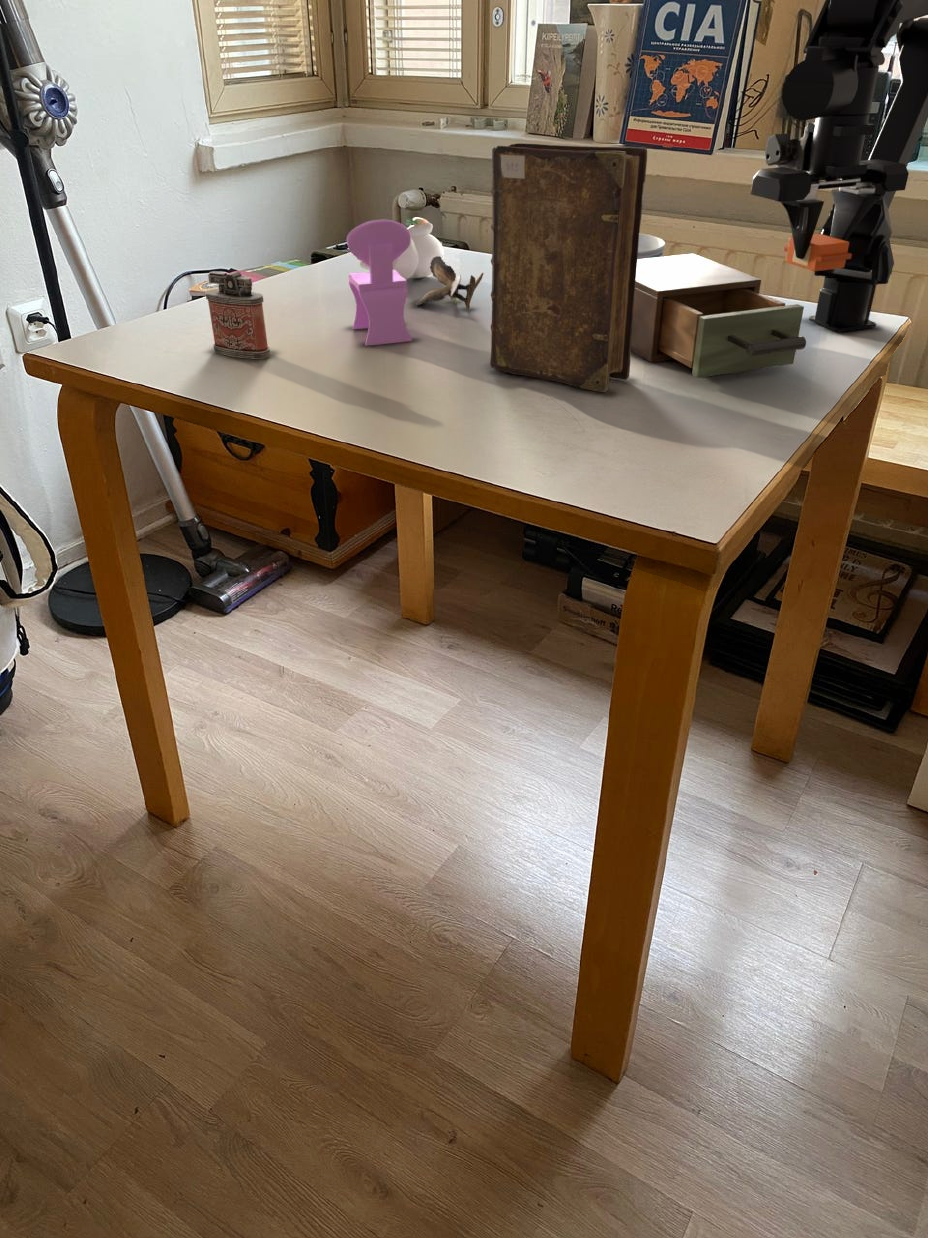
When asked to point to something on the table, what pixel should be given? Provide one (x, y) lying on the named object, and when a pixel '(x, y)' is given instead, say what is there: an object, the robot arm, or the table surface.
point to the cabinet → (675, 293)
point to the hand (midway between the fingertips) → (816, 256)
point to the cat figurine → (417, 251)
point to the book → (565, 260)
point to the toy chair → (379, 280)
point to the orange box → (820, 253)
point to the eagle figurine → (449, 284)
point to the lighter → (237, 316)
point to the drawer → (729, 331)
